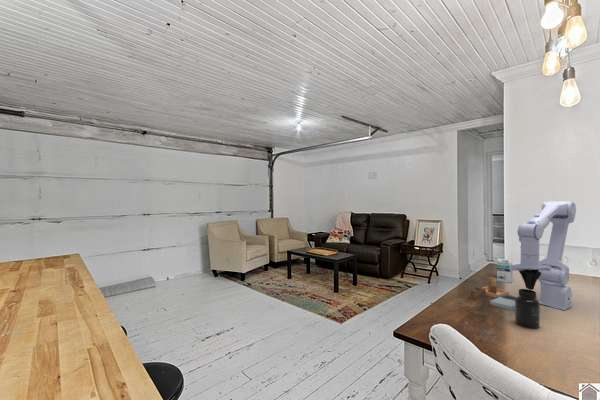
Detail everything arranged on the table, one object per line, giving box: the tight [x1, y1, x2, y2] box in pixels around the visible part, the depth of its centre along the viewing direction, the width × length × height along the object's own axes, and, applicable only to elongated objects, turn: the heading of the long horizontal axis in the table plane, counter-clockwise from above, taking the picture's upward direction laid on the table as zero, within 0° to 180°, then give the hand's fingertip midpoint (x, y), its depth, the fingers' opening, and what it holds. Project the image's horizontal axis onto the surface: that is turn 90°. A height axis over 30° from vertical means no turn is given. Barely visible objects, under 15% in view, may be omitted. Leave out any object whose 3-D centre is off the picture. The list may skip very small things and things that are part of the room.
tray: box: [482, 285, 510, 299], centre depth 132 cm, size 9×9×2 cm
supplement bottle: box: [514, 288, 541, 329], centre depth 101 cm, size 7×7×12 cm
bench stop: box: [470, 286, 486, 300], centre depth 128 cm, size 2×8×4 cm, turn 119°
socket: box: [497, 294, 517, 301], centre depth 124 cm, size 7×7×1 cm
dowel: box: [487, 276, 498, 294], centre depth 132 cm, size 3×3×7 cm
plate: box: [489, 297, 515, 311], centre depth 119 cm, size 8×8×2 cm
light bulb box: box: [496, 257, 513, 284], centre depth 155 cm, size 11×7×11 cm, turn 143°
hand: (529, 288), depth 111 cm, fingers closed
